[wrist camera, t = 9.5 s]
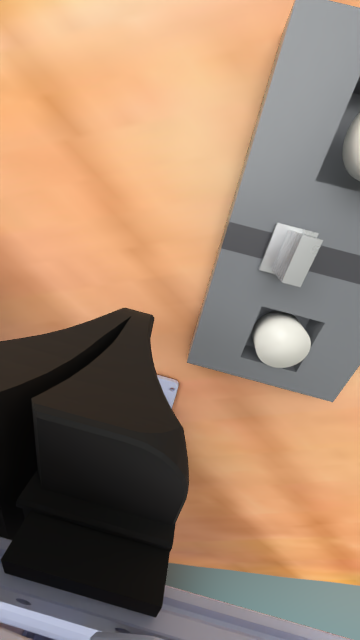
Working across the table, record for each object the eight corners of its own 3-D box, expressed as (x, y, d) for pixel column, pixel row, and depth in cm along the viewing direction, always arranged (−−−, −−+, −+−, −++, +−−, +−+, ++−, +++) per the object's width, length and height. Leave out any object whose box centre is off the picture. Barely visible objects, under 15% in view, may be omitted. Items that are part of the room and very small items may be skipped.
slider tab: (295, 278, 15) (311, 294, 12) (258, 268, 15) (266, 282, 12) (316, 232, 14) (340, 239, 11) (276, 222, 14) (290, 226, 11)
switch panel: (320, 381, 21) (332, 402, 19) (189, 345, 21) (186, 362, 19) (514, 86, 12) (582, 60, 10) (283, 30, 12) (297, -7, 10)
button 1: (289, 357, 19) (296, 373, 17) (245, 345, 19) (248, 360, 17) (310, 318, 18) (320, 331, 16) (262, 306, 18) (267, 317, 16)
